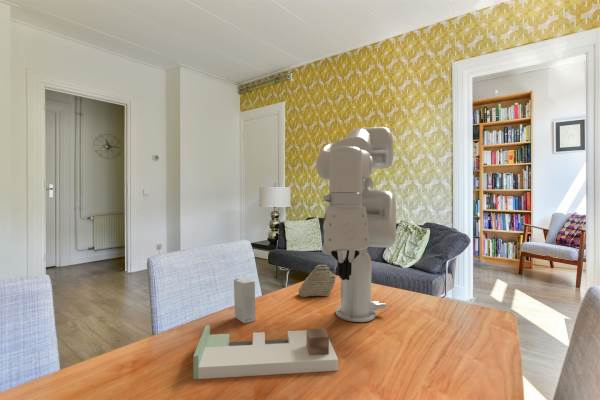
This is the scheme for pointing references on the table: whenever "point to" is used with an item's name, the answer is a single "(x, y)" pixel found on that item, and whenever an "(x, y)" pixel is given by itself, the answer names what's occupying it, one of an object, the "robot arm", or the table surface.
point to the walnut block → (317, 342)
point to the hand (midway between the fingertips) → (344, 278)
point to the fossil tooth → (318, 282)
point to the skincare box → (244, 299)
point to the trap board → (257, 356)
